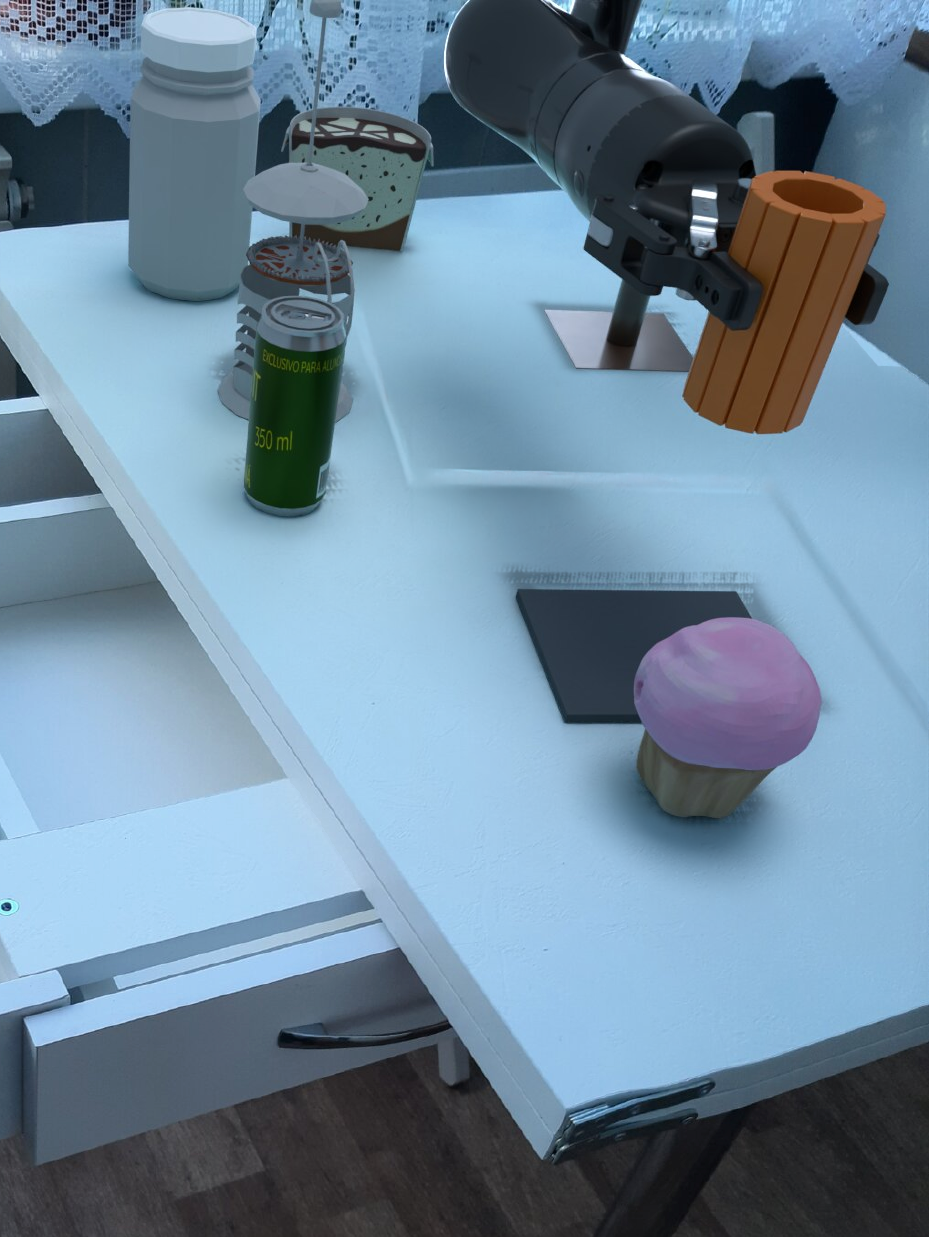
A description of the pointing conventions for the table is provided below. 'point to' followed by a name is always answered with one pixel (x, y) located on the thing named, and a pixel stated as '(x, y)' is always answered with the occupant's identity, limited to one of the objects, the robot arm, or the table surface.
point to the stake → (621, 336)
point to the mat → (609, 641)
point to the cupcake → (721, 713)
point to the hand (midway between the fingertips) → (813, 307)
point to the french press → (295, 247)
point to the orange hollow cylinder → (785, 299)
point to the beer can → (293, 404)
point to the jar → (192, 153)
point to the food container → (365, 170)
